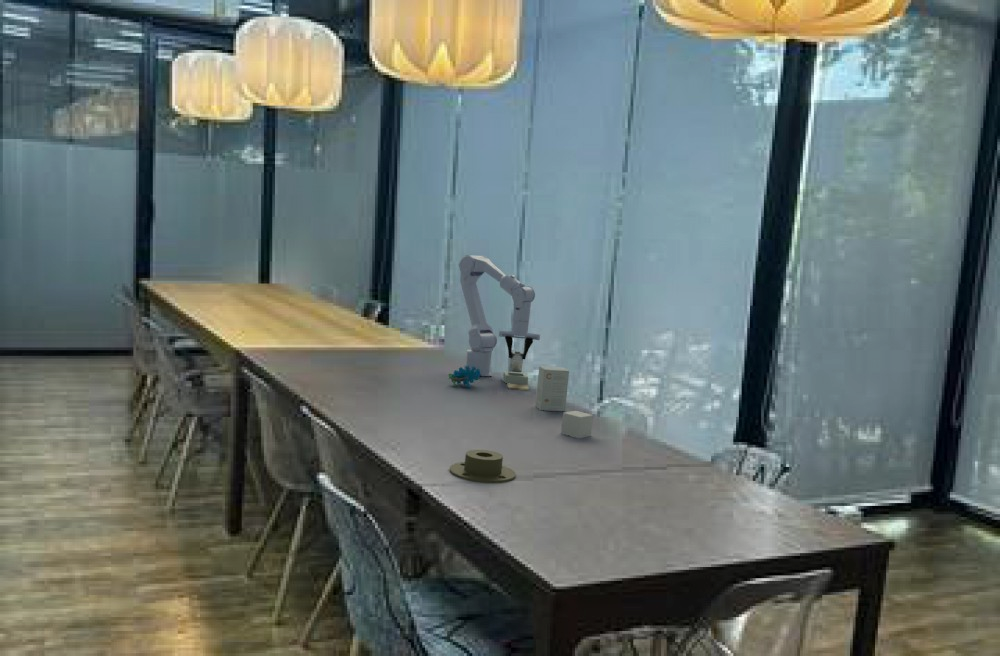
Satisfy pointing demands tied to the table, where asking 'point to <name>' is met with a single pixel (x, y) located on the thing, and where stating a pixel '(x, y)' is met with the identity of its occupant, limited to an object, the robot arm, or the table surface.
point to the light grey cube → (577, 424)
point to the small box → (552, 388)
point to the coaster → (517, 386)
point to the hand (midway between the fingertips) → (516, 358)
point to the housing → (515, 378)
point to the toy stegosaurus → (465, 376)
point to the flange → (483, 467)
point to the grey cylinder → (516, 361)
